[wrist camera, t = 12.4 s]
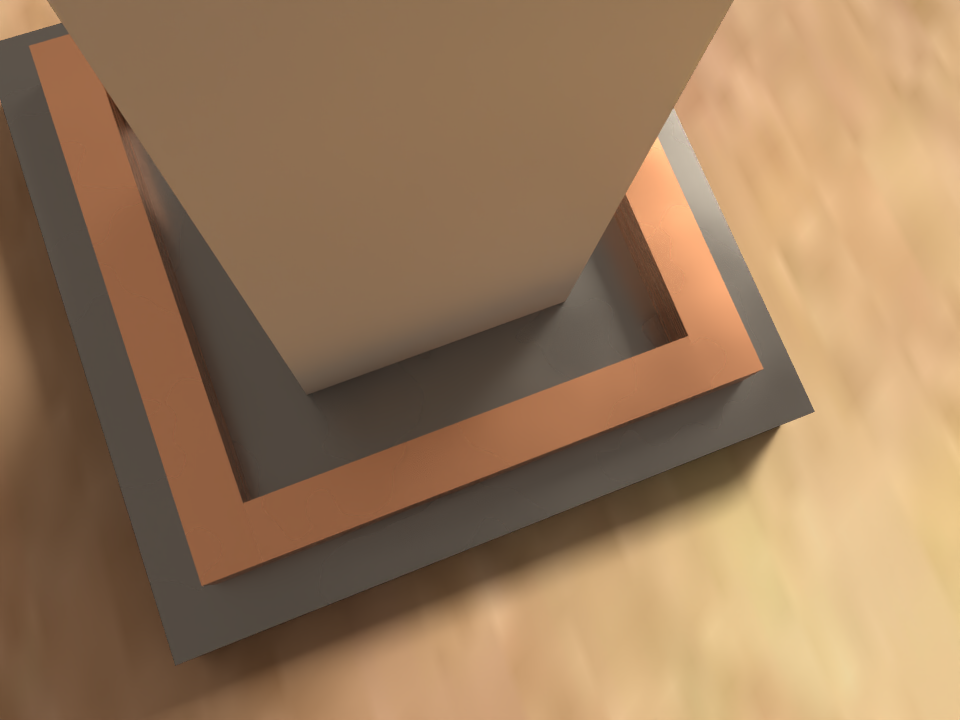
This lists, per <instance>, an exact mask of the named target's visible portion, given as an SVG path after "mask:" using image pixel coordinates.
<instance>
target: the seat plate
mask: <svg viewBox="0 0 960 720" xmlns="http://www.w3.org/2000/svg"><path fill="white" fill-rule="evenodd" d="M0 100H1V103H2V106H3V110H4V113H5V116H6V119H7V123H8V126H9V129H10V132H11V136H12V139H13V142H14V145H15V148H16V152H17V155H18V158H19V161H20V165H21V168H22V171H23V174H24V178H25V181H26V184H27V187H28V191H29V194H30V197H31V200H32V203H33V207H34V210H35V213H36V216H37V220H38V223H39V226H40V229H41V233H42V236H43V239H44V242H45V246H46V249H47V252H48V255H49V258H50V262H51V265H52V268H53V271H54V275H55V278H56V281H57V284H58V288H59V291H60V294H61V297H62V301H63V304H64V307H65V310H66V313H67V317H68V320H69V323H70V326H71V330H72V333H73V336H74V339H75V343H76V346H77V349H78V352H79V356H80V359H81V362H82V365H83V368H84V372H85V375H86V378H87V381H88V385H89V388H90V391H91V394H92V398H93V401H94V404H95V407H96V411H97V414H98V417H99V420H100V423H101V427H102V430H103V433H104V436H105V440H106V443H107V446H108V449H109V453H110V456H111V459H112V462H113V465H114V469H115V472H116V475H117V478H118V482H119V485H120V488H121V491H122V495H123V498H124V501H125V504H126V508H127V511H128V514H129V517H130V520H131V524H132V527H133V530H134V533H135V537H136V540H137V543H138V546H139V550H140V553H141V556H142V559H143V563H144V566H145V569H146V572H147V575H148V579H149V582H150V585H151V588H152V592H153V595H154V598H155V601H156V605H157V608H158V611H159V614H160V618H161V621H162V624H163V627H164V630H165V634H166V637H167V640H168V643H169V647H170V650H171V653H172V656H173V660H174V663H175V666H176V665H178V664H181V663H183V662H186V661H188V660H191V659H193V658H196V657H198V656H201V655H203V654H206V653H208V652H211V651H213V650H216V649H218V648H221V647H223V646H226V645H228V644H231V643H233V642H236V641H238V640H241V639H244V638H246V637H249V636H251V635H254V634H256V633H259V632H261V631H264V630H266V629H269V628H271V627H274V626H276V625H279V624H281V623H284V622H286V621H289V620H291V619H294V618H296V617H299V616H301V615H304V614H306V613H309V612H311V611H314V610H317V609H319V608H322V607H324V606H327V605H329V604H332V603H334V602H337V601H339V600H342V599H344V598H347V597H349V596H352V595H354V594H357V593H359V592H362V591H364V590H367V589H369V588H372V587H374V586H377V585H379V584H382V583H385V582H387V581H390V580H392V579H395V578H397V577H400V576H402V575H405V574H407V573H410V572H412V571H415V570H417V569H420V568H422V567H425V566H427V565H430V564H432V563H435V562H437V561H440V560H442V559H445V558H447V557H450V556H453V555H455V554H458V553H460V552H463V551H465V550H468V549H470V548H473V547H475V546H478V545H480V544H483V543H485V542H488V541H490V540H493V539H495V538H498V537H500V536H503V535H505V534H508V533H510V532H513V531H515V530H518V529H521V528H523V527H526V526H528V525H531V524H533V523H536V522H538V521H541V520H543V519H546V518H548V517H551V516H553V515H556V514H558V513H561V512H563V511H566V510H568V509H571V508H573V507H576V506H578V505H581V504H583V503H586V502H588V501H591V500H594V499H596V498H599V497H601V496H604V495H606V494H609V493H611V492H614V491H616V490H619V489H621V488H624V487H626V486H629V485H631V484H634V483H636V482H639V481H641V480H644V479H646V478H649V477H651V476H654V475H656V474H659V473H662V472H664V471H667V470H669V469H672V468H674V467H677V466H679V465H682V464H684V463H687V462H689V461H692V460H694V459H697V458H699V457H702V456H704V455H707V454H709V453H712V452H714V451H717V450H719V449H722V448H724V447H727V446H730V445H732V444H735V443H737V442H740V441H742V440H745V439H747V438H750V437H752V436H755V435H757V434H760V433H762V432H765V431H767V430H770V429H772V428H775V427H777V426H780V425H782V424H785V423H787V422H790V421H792V420H795V419H797V418H800V417H803V416H805V415H808V414H810V413H813V412H815V411H814V409H813V407H812V405H811V403H810V401H809V398H808V396H807V394H806V392H805V390H804V388H803V385H802V383H801V381H800V379H799V377H798V375H797V373H796V370H795V368H794V366H793V364H792V362H791V360H790V357H789V355H788V353H787V351H786V349H785V347H784V345H783V342H782V340H781V338H780V336H779V334H778V332H777V329H776V327H775V325H774V323H773V321H772V319H771V317H770V314H769V312H768V310H767V308H766V306H765V304H764V301H763V299H762V297H761V295H760V293H759V291H758V289H757V286H756V284H755V282H754V280H753V278H752V276H751V273H750V271H749V269H748V267H747V265H746V263H745V261H744V258H743V256H742V254H741V252H740V250H739V248H738V245H737V243H736V241H735V239H734V237H733V235H732V233H731V230H730V228H729V226H728V224H727V222H726V220H725V217H724V215H723V213H722V211H721V209H720V207H719V205H718V202H717V200H716V198H715V196H714V194H713V192H712V189H711V187H710V185H709V183H708V181H707V179H706V177H705V174H704V172H703V170H702V168H701V166H700V164H699V161H698V159H697V157H696V155H695V153H694V151H693V149H692V146H691V144H690V142H689V140H688V138H687V136H686V133H685V131H684V129H683V127H682V125H681V123H680V121H679V118H678V116H677V114H676V112H675V110H674V108H673V110H672V112H671V113H670V115H669V117H668V119H667V120H666V122H665V124H664V126H663V128H662V129H661V131H660V133H659V135H658V137H657V138H656V140H655V142H654V144H653V145H652V147H651V149H650V151H649V153H648V154H647V156H646V158H645V160H644V162H643V163H642V165H641V167H640V169H639V171H638V172H637V174H636V176H635V178H634V179H633V181H632V183H631V185H630V187H629V188H628V190H627V192H626V194H625V196H624V197H623V199H622V201H621V203H620V204H619V206H618V208H617V210H616V212H615V213H614V215H613V217H612V219H611V221H610V222H609V224H608V226H607V228H606V230H605V231H604V233H603V235H602V237H601V238H600V240H599V242H598V244H597V246H596V247H595V249H594V251H593V253H592V255H591V256H590V258H589V260H588V262H587V263H586V265H585V267H584V269H583V271H582V272H581V274H580V276H579V278H578V280H577V281H576V283H575V285H574V287H573V289H572V290H571V292H570V294H569V296H568V297H567V299H566V301H565V302H562V303H559V304H556V305H554V306H551V307H548V308H545V309H543V310H540V311H537V312H534V313H532V314H529V315H526V316H523V317H521V318H518V319H515V320H512V321H510V322H507V323H504V324H501V325H498V326H496V327H493V328H490V329H487V330H485V331H482V332H479V333H476V334H474V335H471V336H468V337H465V338H463V339H460V340H457V341H454V342H452V343H449V344H446V345H443V346H440V347H438V348H435V349H432V350H429V351H427V352H424V353H421V354H418V355H416V356H413V357H410V358H407V359H405V360H402V361H399V362H396V363H394V364H391V365H388V366H385V367H383V368H380V369H377V370H374V371H371V372H369V373H366V374H363V375H360V376H358V377H355V378H352V379H349V380H347V381H344V382H341V383H338V384H336V385H333V386H330V387H327V388H325V389H322V390H319V391H316V392H313V393H311V394H308V395H307V394H306V393H305V391H304V390H303V388H302V387H301V385H300V384H299V382H298V381H297V379H296V378H295V376H294V375H293V373H292V372H291V370H290V369H289V367H288V366H287V364H286V362H285V361H284V359H283V358H282V356H281V355H280V353H279V352H278V350H277V349H276V347H275V346H274V344H273V343H272V341H271V340H270V338H269V337H268V335H267V334H266V332H265V331H264V329H263V328H262V326H261V325H260V323H259V321H258V320H257V318H256V317H255V315H254V314H253V312H252V311H251V309H250V308H249V306H248V305H247V303H246V302H245V300H244V299H243V297H242V296H241V294H240V293H239V291H238V290H237V288H236V287H235V285H234V284H233V282H232V280H231V279H230V277H229V276H228V274H227V273H226V271H225V270H224V268H223V267H222V265H221V264H220V262H219V261H218V259H217V258H216V256H215V255H214V253H213V252H212V250H211V249H210V247H209V246H208V244H207V242H206V241H205V239H204V238H203V236H202V235H201V233H200V232H199V230H198V229H197V227H196V226H195V224H194V223H193V221H192V220H191V218H190V217H189V215H188V214H187V212H186V211H185V209H184V208H183V206H182V205H181V203H180V201H179V200H178V198H177V197H176V195H175V194H174V192H173V191H172V189H171V188H170V186H169V185H168V183H167V182H166V180H165V179H164V177H163V176H162V174H161V173H160V171H159V170H158V168H157V167H156V165H155V164H154V162H153V160H152V159H151V157H150V156H149V154H148V153H147V151H146V150H145V148H144V147H143V145H142V144H141V142H140V141H139V139H138V138H137V136H136V135H135V133H134V132H133V130H132V129H131V127H130V126H129V124H128V122H127V121H126V119H125V118H124V116H123V115H122V113H121V112H120V110H119V109H118V107H117V106H116V104H115V103H114V101H113V100H112V98H111V97H110V95H109V94H108V92H107V91H106V89H105V88H104V86H103V85H102V83H101V81H100V80H99V78H98V77H97V75H96V74H95V72H94V71H93V69H92V68H91V66H90V65H89V63H88V62H87V60H86V59H85V57H84V56H83V54H82V53H81V51H80V50H79V48H78V47H77V45H76V44H75V42H74V40H73V39H72V37H71V36H70V34H69V33H68V31H67V30H66V28H65V27H64V25H63V24H62V23H60V24H56V25H53V26H50V27H46V28H43V29H39V30H36V31H32V32H29V33H25V34H22V35H19V36H15V37H12V38H8V39H5V40H1V41H0Z"/></svg>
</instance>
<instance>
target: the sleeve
mask: <svg viewBox="0 0 960 720" xmlns="http://www.w3.org/2000/svg"><path fill="white" fill-rule="evenodd" d="M47 1H48V2H49V4H50V6H51V7H52V9H53V10H54V12H55V13H56V15H57V16H58V18H59V19H60V21H61V22H62V24H63V25H64V27H65V28H66V30H67V31H68V33H69V34H70V36H71V37H72V39H73V40H74V42H75V44H76V45H77V47H78V48H79V50H80V51H81V53H82V54H83V56H84V57H85V59H86V60H87V62H88V63H89V65H90V66H91V68H92V69H93V71H94V72H95V74H96V75H97V77H98V78H99V80H100V81H101V83H102V85H103V86H104V88H105V89H106V91H107V92H108V94H109V95H110V97H111V98H112V100H113V101H114V103H115V104H116V106H117V107H118V109H119V110H120V112H121V113H122V115H123V116H124V118H125V119H126V121H127V122H128V124H129V126H130V127H131V129H132V130H133V132H134V133H135V135H136V136H137V138H138V139H139V141H140V142H141V144H142V145H143V147H144V148H145V150H146V151H147V153H148V154H149V156H150V157H151V159H152V160H153V162H154V164H155V165H156V167H157V168H158V170H159V171H160V173H161V174H162V176H163V177H164V179H165V180H166V182H167V183H168V185H169V186H170V188H171V189H172V191H173V192H174V194H175V195H176V197H177V198H178V200H179V201H180V203H181V205H182V206H183V208H184V209H185V211H186V212H187V214H188V215H189V217H190V218H191V220H192V221H193V223H194V224H195V226H196V227H197V229H198V230H199V232H200V233H201V235H202V236H203V238H204V239H205V241H206V242H207V244H208V246H209V247H210V249H211V250H212V252H213V253H214V255H215V256H216V258H217V259H218V261H219V262H220V264H221V265H222V267H223V268H224V270H225V271H226V273H227V274H228V276H229V277H230V279H231V280H232V282H233V284H234V285H235V287H236V288H237V290H238V291H239V293H240V294H241V296H242V297H243V299H244V300H245V302H246V303H247V305H248V306H249V308H250V309H251V311H252V312H253V314H254V315H255V317H256V318H257V320H258V321H259V323H260V325H261V326H262V328H263V329H264V331H265V332H266V334H267V335H268V337H269V338H270V340H271V341H272V343H273V344H274V346H275V347H276V349H277V350H278V352H279V353H280V355H281V356H282V358H283V359H284V361H285V362H286V364H287V366H288V367H289V369H290V370H291V372H292V373H293V375H294V376H295V378H296V379H297V381H298V382H299V384H300V385H301V387H302V388H303V390H304V391H305V393H306V394H307V395H308V394H311V393H313V392H316V391H319V390H322V389H325V388H327V387H330V386H333V385H336V384H338V383H341V382H344V381H347V380H349V379H352V378H355V377H358V376H360V375H363V374H366V373H369V372H371V371H374V370H377V369H380V368H383V367H385V366H388V365H391V364H394V363H396V362H399V361H402V360H405V359H407V358H410V357H413V356H416V355H418V354H421V353H424V352H427V351H429V350H432V349H435V348H438V347H440V346H443V345H446V344H449V343H452V342H454V341H457V340H460V339H463V338H465V337H468V336H471V335H474V334H476V333H479V332H482V331H485V330H487V329H490V328H493V327H496V326H498V325H501V324H504V323H507V322H510V321H512V320H515V319H518V318H521V317H523V316H526V315H529V314H532V313H534V312H537V311H540V310H543V309H545V308H548V307H551V306H554V305H556V304H559V303H562V302H565V301H566V299H567V297H568V296H569V294H570V292H571V290H572V289H573V287H574V285H575V283H576V281H577V280H578V278H579V276H580V274H581V272H582V271H583V269H584V267H585V265H586V263H587V262H588V260H589V258H590V256H591V255H592V253H593V251H594V249H595V247H596V246H597V244H598V242H599V240H600V238H601V237H602V235H603V233H604V231H605V230H606V228H607V226H608V224H609V222H610V221H611V219H612V217H613V215H614V213H615V212H616V210H617V208H618V206H619V204H620V203H621V201H622V199H623V197H624V196H625V194H626V192H627V190H628V188H629V187H630V185H631V183H632V181H633V179H634V178H635V176H636V174H637V172H638V171H639V169H640V167H641V165H642V163H643V162H644V160H645V158H646V156H647V154H648V153H649V151H650V149H651V147H652V145H653V144H654V142H655V140H656V138H657V137H658V135H659V133H660V131H661V129H662V128H663V126H664V124H665V122H666V120H667V119H668V117H669V115H670V113H671V112H672V110H673V108H674V106H675V104H676V103H677V101H678V99H679V97H680V95H681V94H682V92H683V90H684V88H685V86H686V85H687V83H688V81H689V79H690V78H691V76H692V74H693V72H694V70H695V69H696V67H697V65H698V63H699V61H700V60H701V58H702V56H703V54H704V53H705V51H706V49H707V47H708V45H709V44H710V42H711V40H712V38H713V36H714V35H715V33H716V31H717V29H718V27H719V26H720V24H721V22H722V20H723V19H724V17H725V15H726V13H727V11H728V10H729V8H730V6H731V4H732V2H733V1H734V0H47Z"/></svg>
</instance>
